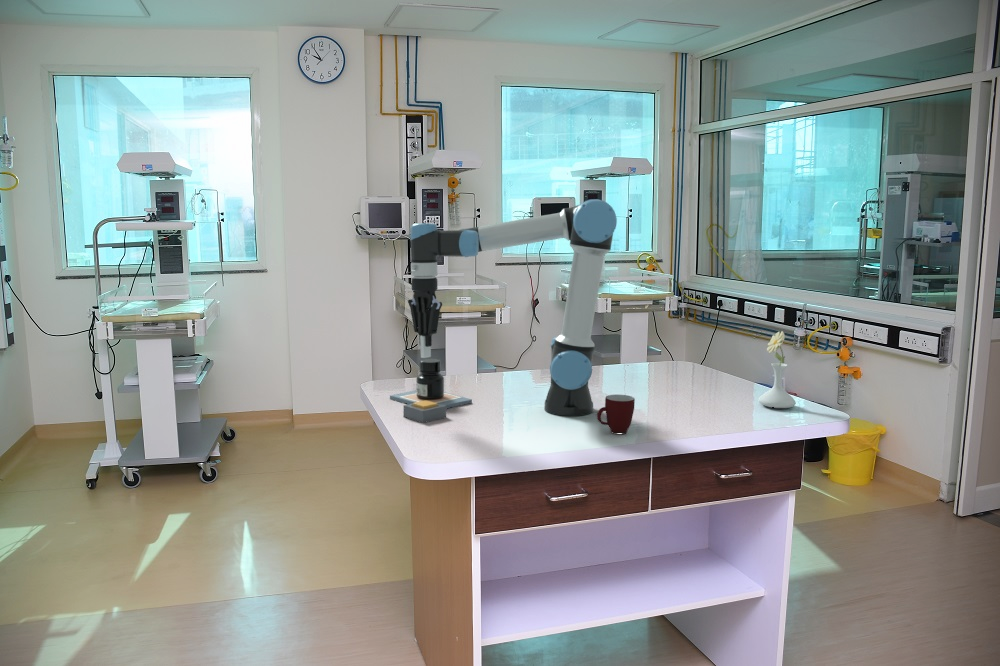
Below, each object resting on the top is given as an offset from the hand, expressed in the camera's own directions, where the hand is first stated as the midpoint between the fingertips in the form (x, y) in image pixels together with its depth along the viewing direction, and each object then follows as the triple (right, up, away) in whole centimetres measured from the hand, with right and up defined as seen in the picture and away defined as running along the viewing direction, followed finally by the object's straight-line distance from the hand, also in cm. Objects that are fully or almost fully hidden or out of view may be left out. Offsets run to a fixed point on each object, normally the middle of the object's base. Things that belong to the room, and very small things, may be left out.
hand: (425, 357), depth 226 cm
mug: (+54, -21, -11) cm, 59 cm away
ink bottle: (-1, -14, +22) cm, 26 cm away
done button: (-1, -18, +3) cm, 18 cm away
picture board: (-1, -15, +22) cm, 27 cm away
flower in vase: (+110, -17, +20) cm, 113 cm away
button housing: (-1, -18, +3) cm, 18 cm away
